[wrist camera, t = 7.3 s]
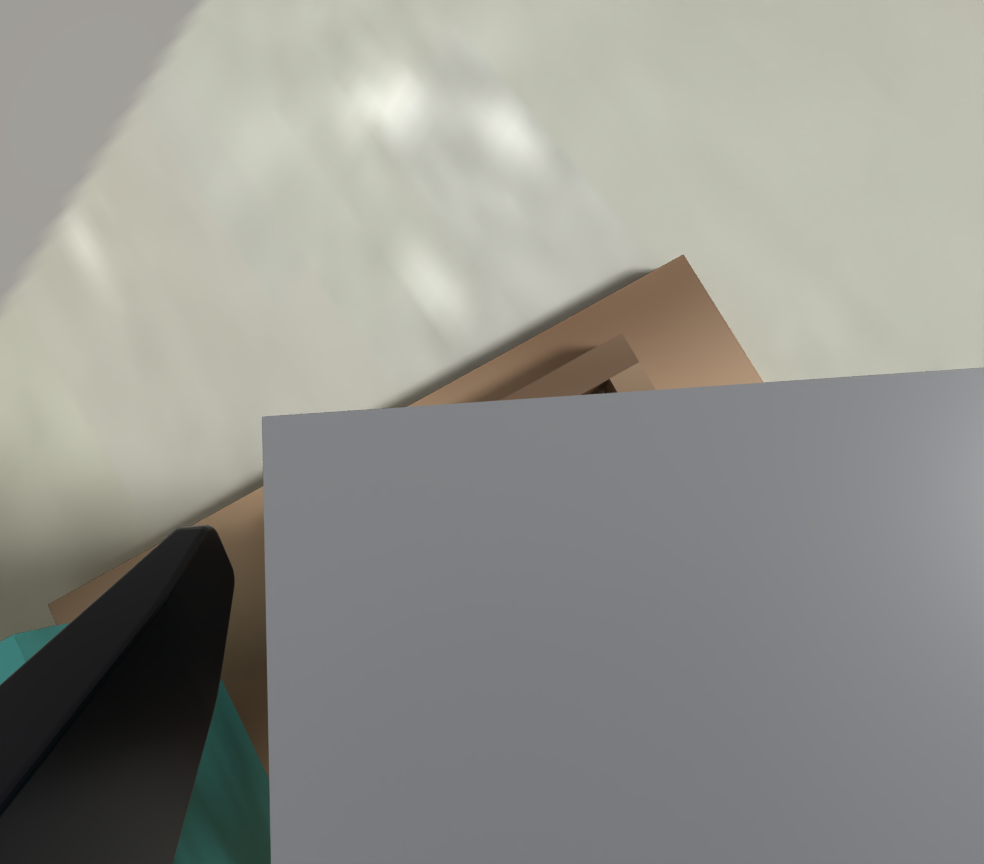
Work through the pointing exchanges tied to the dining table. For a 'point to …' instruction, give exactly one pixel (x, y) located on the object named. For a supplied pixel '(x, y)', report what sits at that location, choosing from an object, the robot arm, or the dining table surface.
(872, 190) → the dining table surface
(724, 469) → the panel
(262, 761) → the tray
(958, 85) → the dining table surface
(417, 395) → the dining table surface
